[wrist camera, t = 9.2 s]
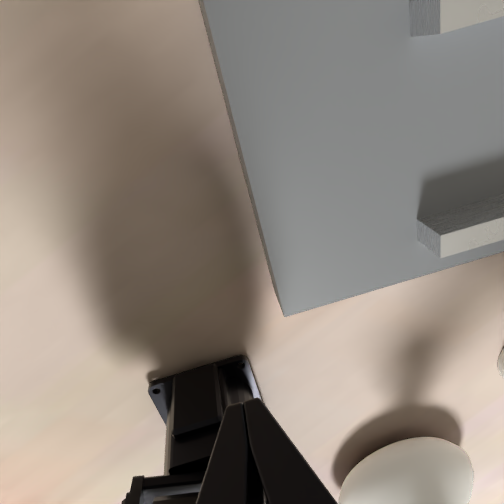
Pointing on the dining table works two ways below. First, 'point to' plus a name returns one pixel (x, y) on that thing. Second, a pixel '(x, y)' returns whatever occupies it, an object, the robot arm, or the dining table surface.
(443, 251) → the channel rails
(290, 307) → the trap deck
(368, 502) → the flower in vase
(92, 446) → the dining table surface
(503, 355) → the cup
